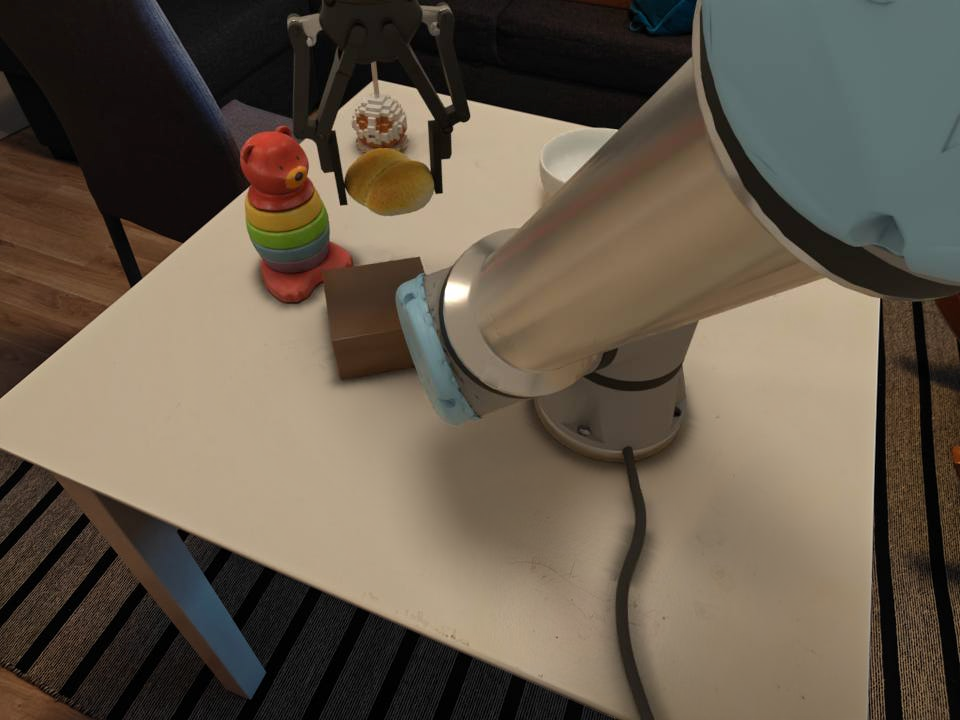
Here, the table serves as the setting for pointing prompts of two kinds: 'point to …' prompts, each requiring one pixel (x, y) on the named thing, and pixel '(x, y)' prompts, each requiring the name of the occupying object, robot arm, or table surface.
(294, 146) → the stacking bear
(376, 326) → the walnut block
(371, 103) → the decorative ornament
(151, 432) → the table surface
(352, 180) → the bread roll
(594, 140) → the cereal bowl
